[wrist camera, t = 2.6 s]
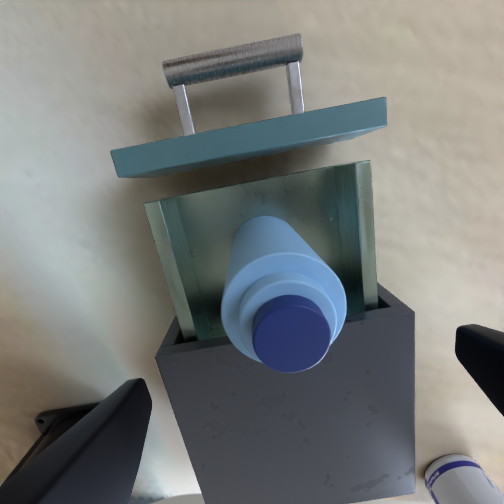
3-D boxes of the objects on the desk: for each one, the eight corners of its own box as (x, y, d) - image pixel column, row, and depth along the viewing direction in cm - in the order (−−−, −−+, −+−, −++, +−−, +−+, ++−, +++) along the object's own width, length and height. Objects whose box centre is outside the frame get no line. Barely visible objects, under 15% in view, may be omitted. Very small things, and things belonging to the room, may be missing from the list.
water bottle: (239, 285, 17) (232, 412, 8) (226, 222, 16) (199, 285, 6) (302, 273, 17) (372, 389, 8) (294, 209, 16) (364, 255, 6)
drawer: (123, 81, 14) (74, 42, 10) (342, 36, 14) (383, -23, 10) (195, 334, 19) (181, 377, 15) (361, 304, 19) (394, 340, 15)
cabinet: (182, 302, 19) (154, 356, 13) (362, 269, 19) (415, 311, 13) (220, 436, 23) (212, 525, 17) (371, 411, 23) (415, 493, 17)
